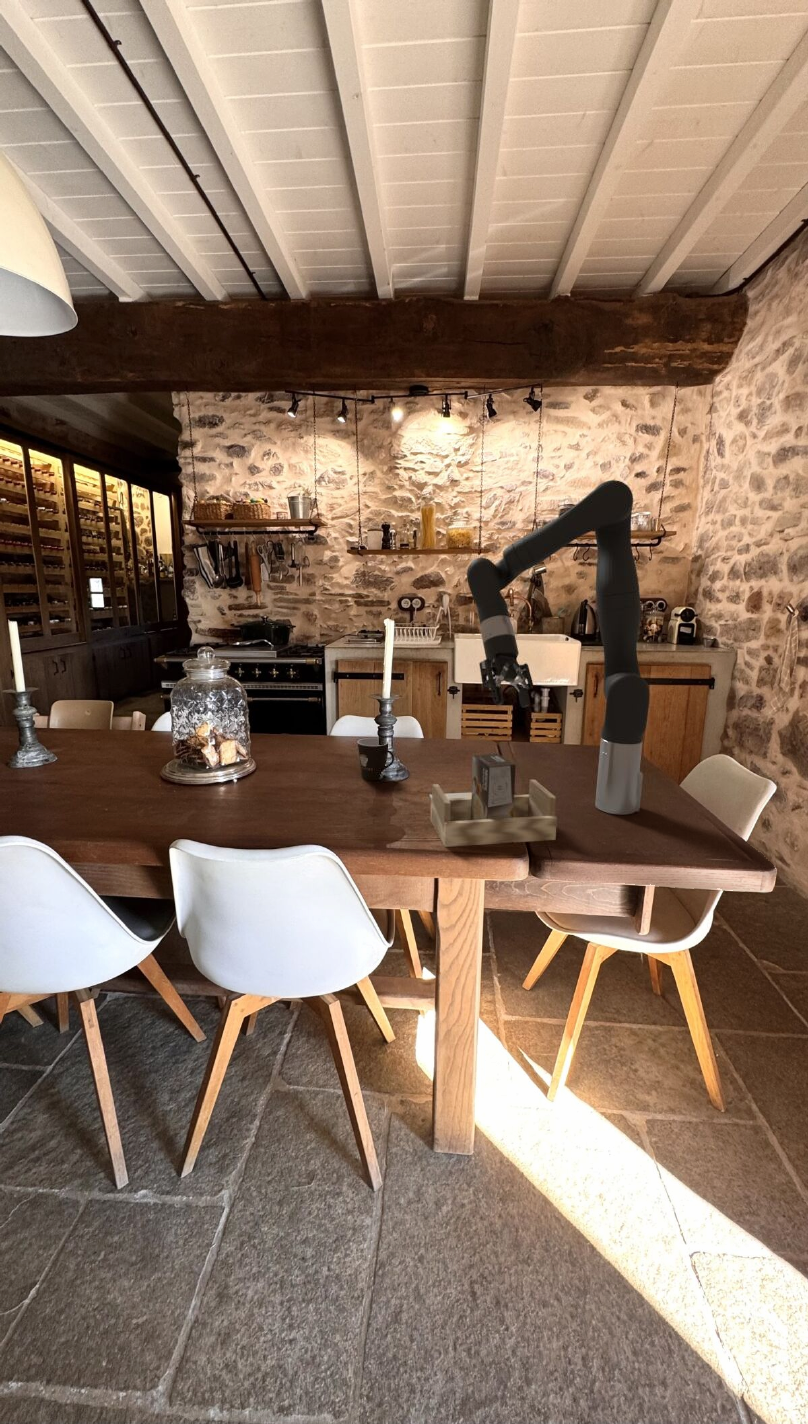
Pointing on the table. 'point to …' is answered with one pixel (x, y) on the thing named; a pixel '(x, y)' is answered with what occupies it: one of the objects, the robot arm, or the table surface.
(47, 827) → the table surface
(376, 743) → the coffee mug
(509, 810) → the coffee box
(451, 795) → the white mat
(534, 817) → the wooden crate
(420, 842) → the table surface
